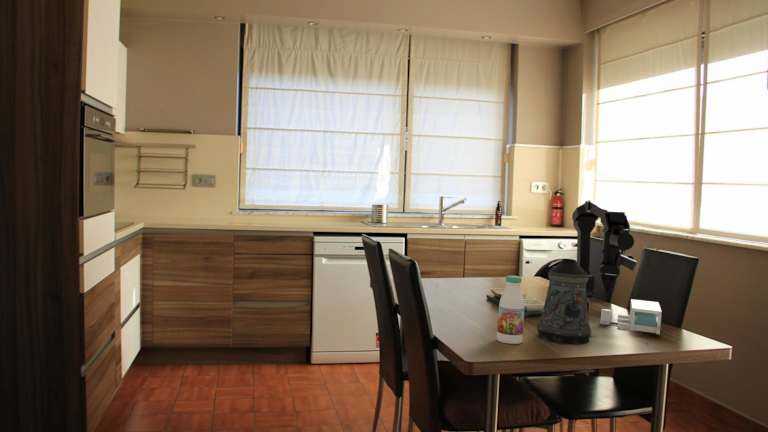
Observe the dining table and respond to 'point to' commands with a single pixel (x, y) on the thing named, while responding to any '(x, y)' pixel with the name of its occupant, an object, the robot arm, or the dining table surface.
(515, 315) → the milk bottle
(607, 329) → the dining table surface
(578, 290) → the beer stein
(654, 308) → the shelf
